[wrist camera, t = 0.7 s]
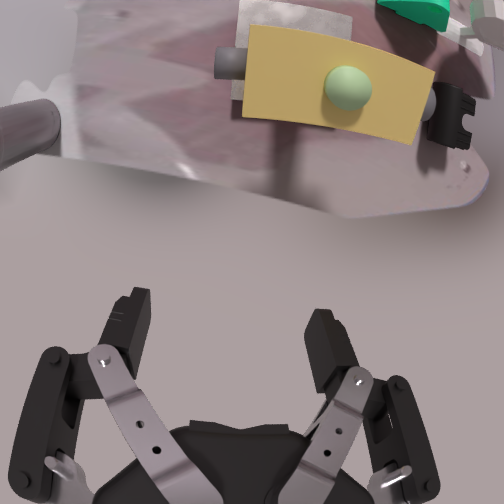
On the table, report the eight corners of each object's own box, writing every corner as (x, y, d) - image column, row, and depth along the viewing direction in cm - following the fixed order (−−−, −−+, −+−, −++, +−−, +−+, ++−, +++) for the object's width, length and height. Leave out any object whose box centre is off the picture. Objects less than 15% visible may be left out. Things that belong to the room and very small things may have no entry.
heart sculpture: (428, 28, 27) (504, 20, 11) (427, 5, 24) (499, -10, 9) (486, 60, 28) (556, 71, 12) (486, 39, 25) (554, 44, 10)
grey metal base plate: (231, 100, 35) (229, 100, 30) (240, 4, 27) (240, -10, 22) (336, 112, 36) (351, 115, 31) (345, 21, 28) (361, 11, 23)
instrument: (228, 66, 29) (207, 119, 15) (232, 22, 24) (211, 23, 11) (354, 84, 30) (436, 156, 16) (363, 44, 25) (462, 85, 12)
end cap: (423, 80, 32) (448, 82, 26) (453, 92, 33) (478, 96, 27) (417, 136, 37) (441, 145, 32) (447, 144, 38) (470, 154, 32)
